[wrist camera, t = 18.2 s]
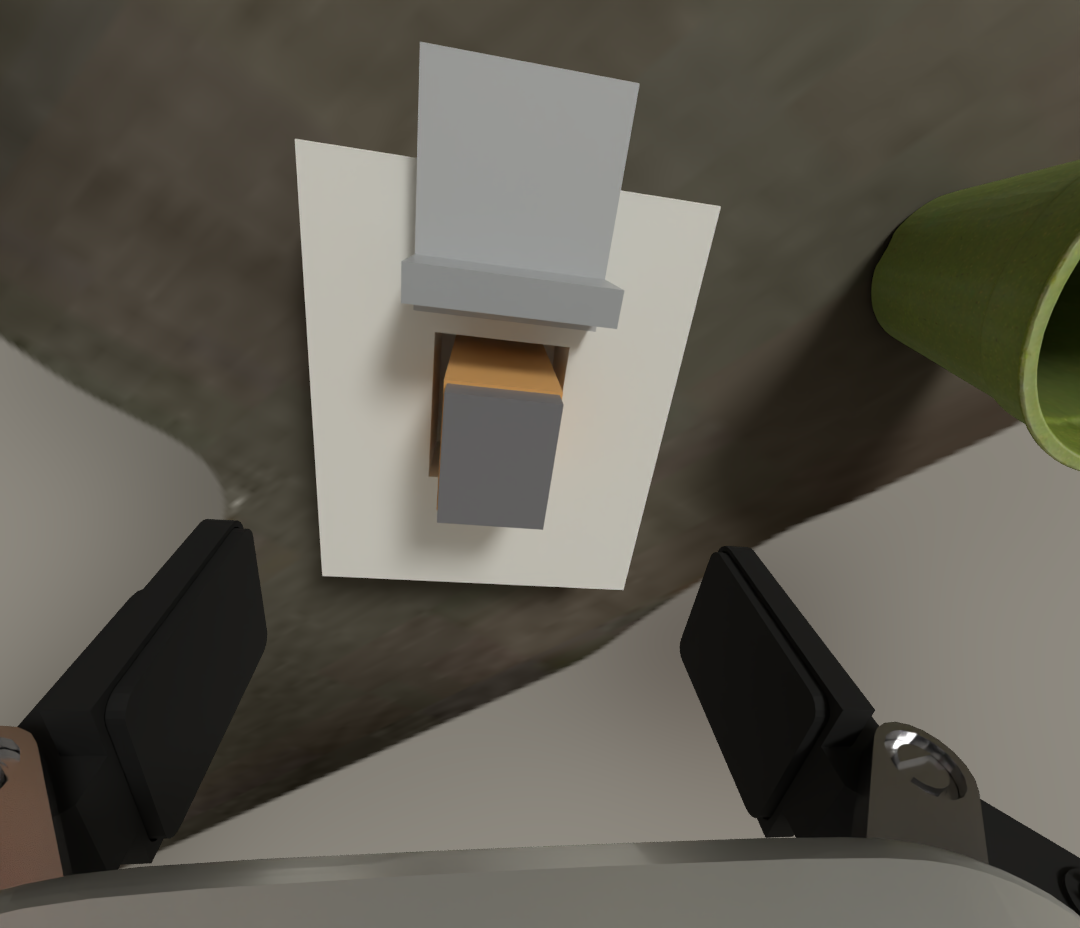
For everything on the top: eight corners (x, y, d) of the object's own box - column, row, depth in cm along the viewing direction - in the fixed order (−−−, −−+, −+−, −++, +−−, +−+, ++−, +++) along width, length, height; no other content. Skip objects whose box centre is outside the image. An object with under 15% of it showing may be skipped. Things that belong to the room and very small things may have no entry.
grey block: (416, 306, 19) (400, 326, 16) (423, 49, 16) (405, 4, 12) (591, 327, 20) (612, 350, 17) (633, 88, 17) (669, 56, 13)
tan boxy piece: (450, 429, 26) (434, 524, 18) (457, 330, 24) (441, 389, 16) (528, 436, 27) (545, 532, 19) (541, 340, 24) (567, 402, 16)
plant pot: (977, 66, 22) (1392, -60, 12) (1093, 249, 26) (1476, 270, 16) (772, 293, 25) (958, 345, 15) (901, 424, 29) (1117, 532, 19)
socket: (347, 520, 29) (322, 575, 24) (335, 154, 21) (294, 138, 17) (603, 535, 31) (623, 590, 27) (676, 208, 23) (720, 206, 19)
